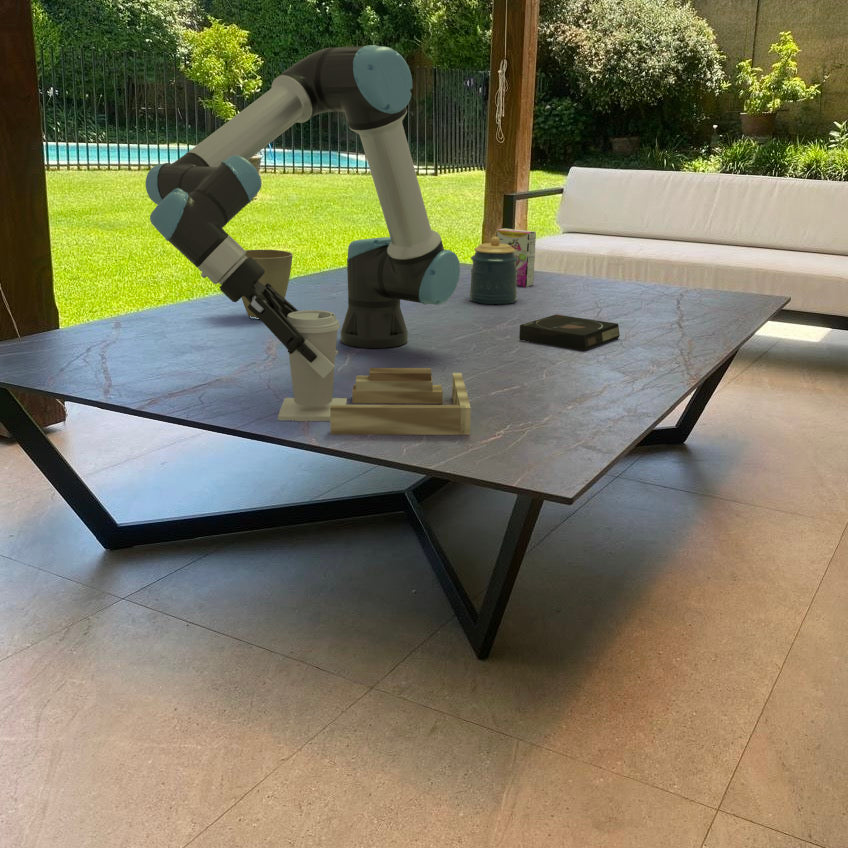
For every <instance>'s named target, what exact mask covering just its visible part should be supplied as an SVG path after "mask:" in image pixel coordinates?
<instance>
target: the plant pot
mask: <svg viewBox="0 0 848 848" xmlns="http://www.w3.org/2000/svg"><path fill="white" fill-rule="evenodd" d="M244 250H245V251H246V255H245V256H246V257H247V258H248V257H250V258H251V257H252V258H253V259H254V260H255V261H256V262H257V263H258V264H259V265H260V266H261V267H262V268H263V269H264V270H265V273H264V274H263V276H262V277H261V278H260V279H259V280H258V281H259V282H261V283H262V284H263V285H264V286H265V285H266V284H267V283H268V284H270V285H271V286H272V287H273V288H274V289H275V290H276V291H277V292H278V293H279V294H280V295H281V296H282V297H283V298H284V299H286V295H287V291H288V286H289V282H290V278H291V270H292V263H293V255H294V254H293V252H291V251H287V250H280V249H244ZM240 299H241V301H242V303H243V306H244V308H245V312H246V314H247V316H248V317H249V316H251V317H256V318H258V317H257V316H256V315H255V314H254V313H253V312H252V311H250V310H249V308H248V307H247V306H248V305H249V304H250V302H249V301H248V300H247V299H246V297H244V296H242V297H241V298H240Z"/></svg>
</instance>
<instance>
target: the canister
mask: <svg viewBox="0 0 848 848" xmlns="http://www.w3.org/2000/svg"><path fill="white" fill-rule="evenodd" d="M473 249H474V252H475V253H474V254H473V255H472V256H471V257H470V260H471V261H472V267H471V268H470V291H469V297H470V301H471V302H473V301H474V303H476V302H478V303H477V304H481V303H484V304H483V305H494V304H498V305H508V304H509V303H510V304H512V303H515V302H516V301H517V297H518V295H517V294H518V292H517V287H518V286H517V272H518V270H517V269H516V262H517V261H518V258H517V257H516V256H515V255H514V252H515V251H516V250H515V249H514V248H512V247H511V246H510V245H508V244H500V239H499V238H498V237H497V236H491V238H490V242H489V243H481V244H479V245H478V246H476V247H474V248H473ZM510 304H509V305H510Z"/></svg>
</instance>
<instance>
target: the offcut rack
mask: <svg viewBox="0 0 848 848" xmlns="http://www.w3.org/2000/svg"><path fill="white" fill-rule="evenodd" d="M451 382H452V383H451V385H452V387H451V391H452V392H451V397H452V402H453V403H452V404H347V405H331V406H330V421H329V422H330V435H394V436H395V435H396V436H397V435H401V436H403V435H405V436H406V435H407V436H410V435H411V436H413V435H414V436H415V435H418V436H419V435H420V436H421V435H422V436H423V435H425V436H428V435H429V436H430V435H434V436H439V435H441V436H442V435H443V436H444V435H448V436H450V435H451V436H455V435H456V436H465V435H467V436H470V435H471V415H472V414H471V411H472V410H471V409H472V407H471V404H470V400H469V397H468V393H467V388H466V385H465V381H464V377H463V374H462V372H452V381H451Z"/></svg>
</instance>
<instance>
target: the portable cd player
mask: <svg viewBox="0 0 848 848" xmlns="http://www.w3.org/2000/svg"><path fill="white" fill-rule="evenodd" d="M620 336H621V335H620V327H619V323H616V322H609V321H603V320H597V319H590V318H589V319H588V318H581V317H577V316H570V315H562V314H558V313H557V314H553V315H549V316H546V317H543V318H540V319H537V320H533V321H529V322H526V323H522V324H520V325H519V336H518V337H519V339H520V340H525V341H524V342H526V341H529V342H528V343H532V342H533V344H540V345H544V346H545V345H546V346H550V347H557V348H562V349H567V350H568V349H569V350H572V351H573V350H575V351H581V352H585V351H589V350H591V349H594V348H596V347H600V346H602V345H604V344H608V343H611V342H613V341H615V340H618V339H619V338H620ZM520 340H519V341H520Z"/></svg>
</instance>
